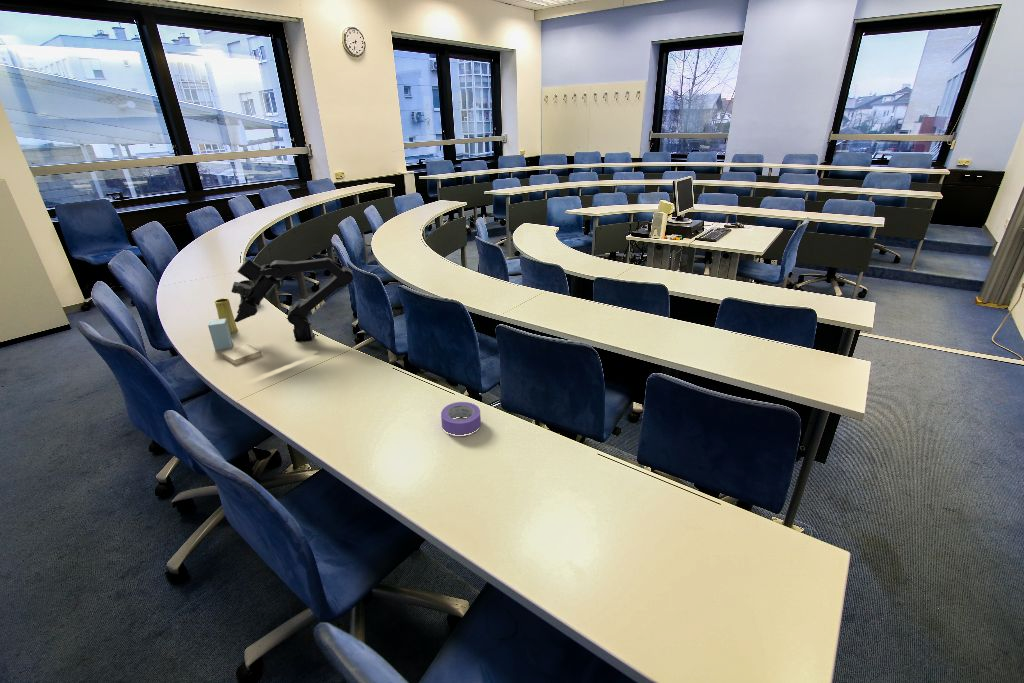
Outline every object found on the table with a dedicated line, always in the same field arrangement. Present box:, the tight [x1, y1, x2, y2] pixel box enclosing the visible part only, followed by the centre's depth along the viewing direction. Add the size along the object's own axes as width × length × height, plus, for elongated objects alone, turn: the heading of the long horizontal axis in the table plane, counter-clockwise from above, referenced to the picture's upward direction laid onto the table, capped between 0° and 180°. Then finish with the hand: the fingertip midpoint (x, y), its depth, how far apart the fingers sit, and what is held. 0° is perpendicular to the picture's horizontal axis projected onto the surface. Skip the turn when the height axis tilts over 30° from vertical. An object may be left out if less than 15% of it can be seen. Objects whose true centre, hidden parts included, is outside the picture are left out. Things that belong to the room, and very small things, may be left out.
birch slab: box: [221, 343, 263, 366], centre depth 179 cm, size 10×10×2 cm
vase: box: [214, 297, 238, 334], centre depth 200 cm, size 6×6×14 cm
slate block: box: [207, 318, 233, 351], centre depth 185 cm, size 6×6×12 cm
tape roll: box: [440, 401, 482, 435], centre depth 141 cm, size 12×12×5 cm
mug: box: [238, 279, 258, 306], centre depth 234 cm, size 12×9×11 cm
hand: (236, 317), depth 184 cm, fingers open, 9 cm apart
